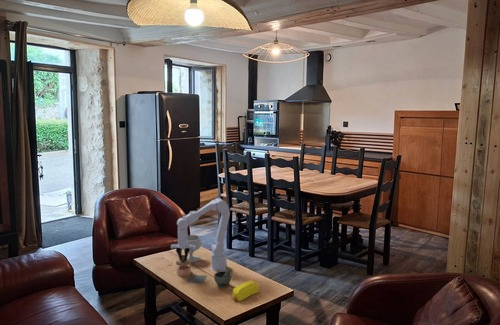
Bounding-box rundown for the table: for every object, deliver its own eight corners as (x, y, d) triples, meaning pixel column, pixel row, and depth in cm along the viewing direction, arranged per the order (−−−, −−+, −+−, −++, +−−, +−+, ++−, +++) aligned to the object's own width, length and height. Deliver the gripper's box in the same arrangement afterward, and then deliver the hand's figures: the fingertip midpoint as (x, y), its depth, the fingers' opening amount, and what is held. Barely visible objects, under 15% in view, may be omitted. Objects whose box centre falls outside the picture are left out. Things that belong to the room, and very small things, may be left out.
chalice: (199, 263, 244) (199, 241, 242) (178, 263, 244) (177, 241, 242) (203, 255, 257) (202, 234, 256) (183, 255, 258) (182, 234, 256)
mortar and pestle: (210, 286, 212) (210, 266, 210) (222, 280, 219) (221, 261, 217) (225, 292, 205) (225, 271, 203) (237, 286, 212) (236, 265, 210)
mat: (207, 276, 225) (207, 275, 225) (203, 284, 215) (203, 283, 215) (190, 276, 226) (190, 275, 226) (186, 283, 216) (186, 282, 216)
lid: (193, 261, 229) (193, 254, 229) (184, 266, 222) (184, 259, 222) (182, 259, 234) (182, 252, 233) (173, 263, 226) (172, 256, 226)
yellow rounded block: (262, 292, 205) (252, 287, 211) (262, 280, 204) (252, 276, 210) (238, 304, 192) (228, 299, 198) (238, 291, 192) (228, 287, 197)
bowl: (192, 270, 233) (192, 264, 232) (188, 276, 225) (188, 270, 224) (179, 270, 234) (178, 264, 233) (175, 276, 225) (174, 269, 225)
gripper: (196, 236, 229) (196, 257, 231) (172, 235, 231) (173, 257, 233) (193, 240, 222) (194, 262, 224) (169, 239, 224) (170, 261, 226)
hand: (183, 260), depth 228 cm, fingers closed on lid, 3 cm apart
